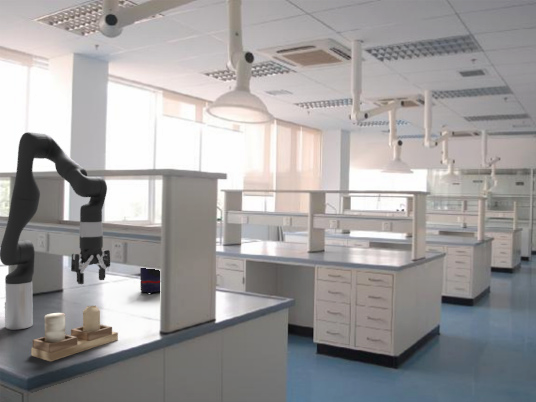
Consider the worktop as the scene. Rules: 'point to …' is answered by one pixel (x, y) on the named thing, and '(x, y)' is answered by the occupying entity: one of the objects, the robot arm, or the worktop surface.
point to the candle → (91, 319)
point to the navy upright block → (150, 280)
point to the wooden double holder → (68, 339)
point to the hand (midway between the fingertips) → (91, 281)
